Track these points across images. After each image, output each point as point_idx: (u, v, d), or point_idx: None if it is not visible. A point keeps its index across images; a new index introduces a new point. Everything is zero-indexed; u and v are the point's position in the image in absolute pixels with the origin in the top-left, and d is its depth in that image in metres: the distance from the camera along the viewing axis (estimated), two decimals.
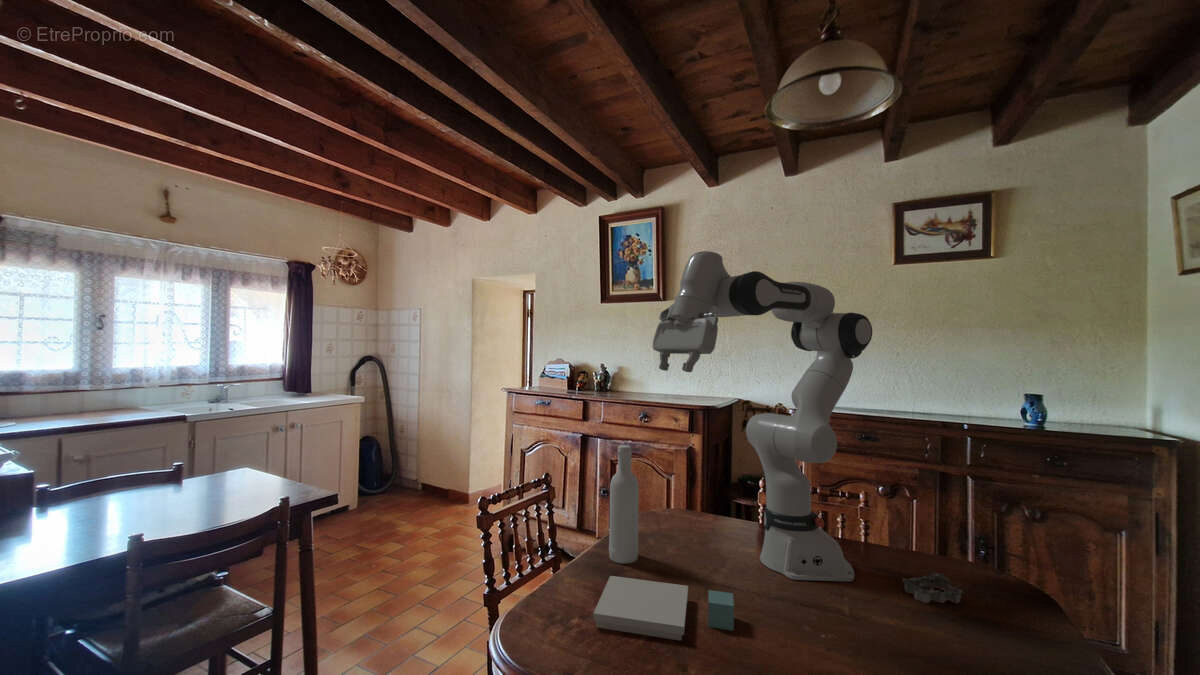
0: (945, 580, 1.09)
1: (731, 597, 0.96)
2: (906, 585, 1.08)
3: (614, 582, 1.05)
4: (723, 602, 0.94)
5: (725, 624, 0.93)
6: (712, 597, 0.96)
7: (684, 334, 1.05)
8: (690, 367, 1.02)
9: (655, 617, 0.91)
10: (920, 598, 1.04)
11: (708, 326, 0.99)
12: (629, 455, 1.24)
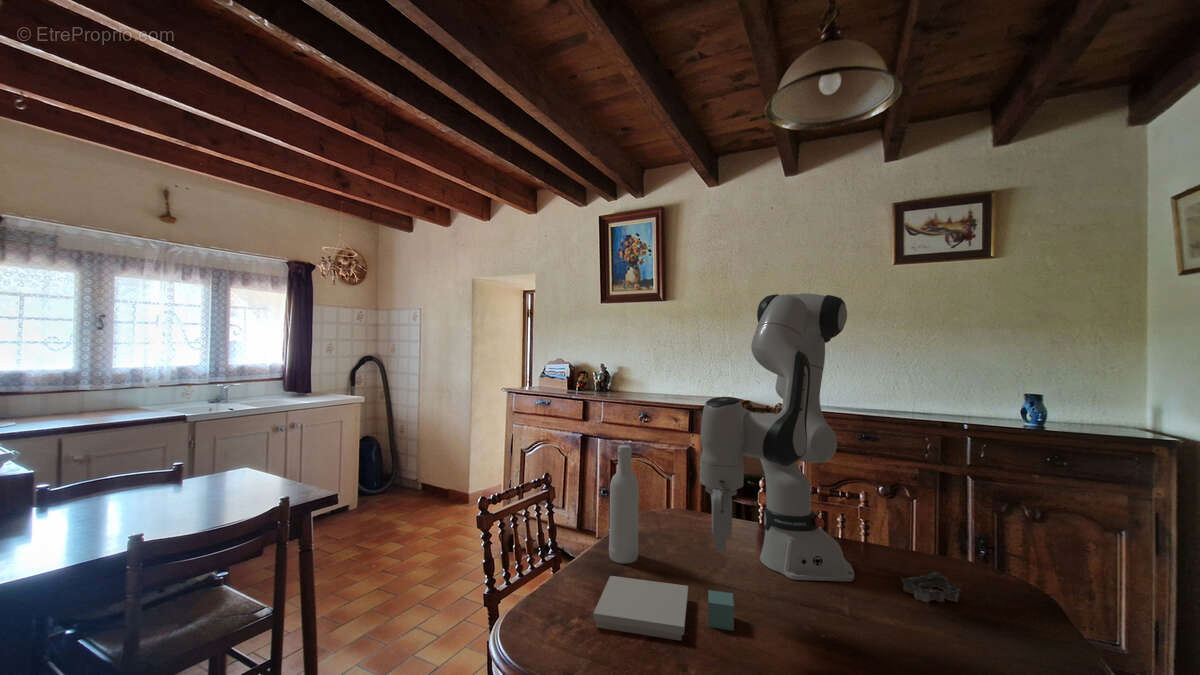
0: (943, 579, 1.10)
1: (731, 597, 0.96)
2: (905, 585, 1.08)
3: (614, 582, 1.05)
4: (723, 602, 0.94)
5: (725, 624, 0.93)
6: (712, 597, 0.96)
7: None
8: (721, 548, 0.90)
9: (655, 617, 0.91)
10: (920, 598, 1.05)
11: (715, 507, 0.87)
12: (629, 455, 1.24)
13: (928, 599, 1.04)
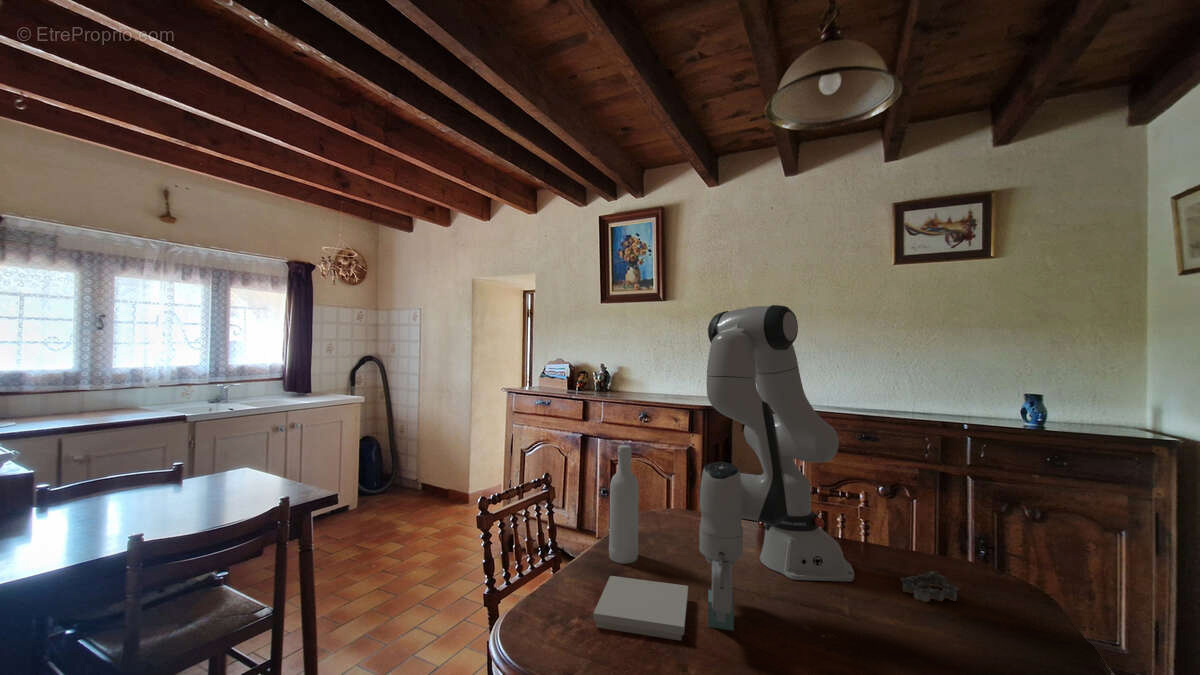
0: (940, 577, 1.10)
1: None
2: (905, 585, 1.08)
3: (614, 582, 1.05)
4: None
5: (725, 623, 0.93)
6: None
7: None
8: (722, 616, 0.92)
9: (655, 617, 0.91)
10: (920, 597, 1.05)
11: (715, 583, 0.87)
12: (629, 455, 1.24)
13: (928, 599, 1.04)
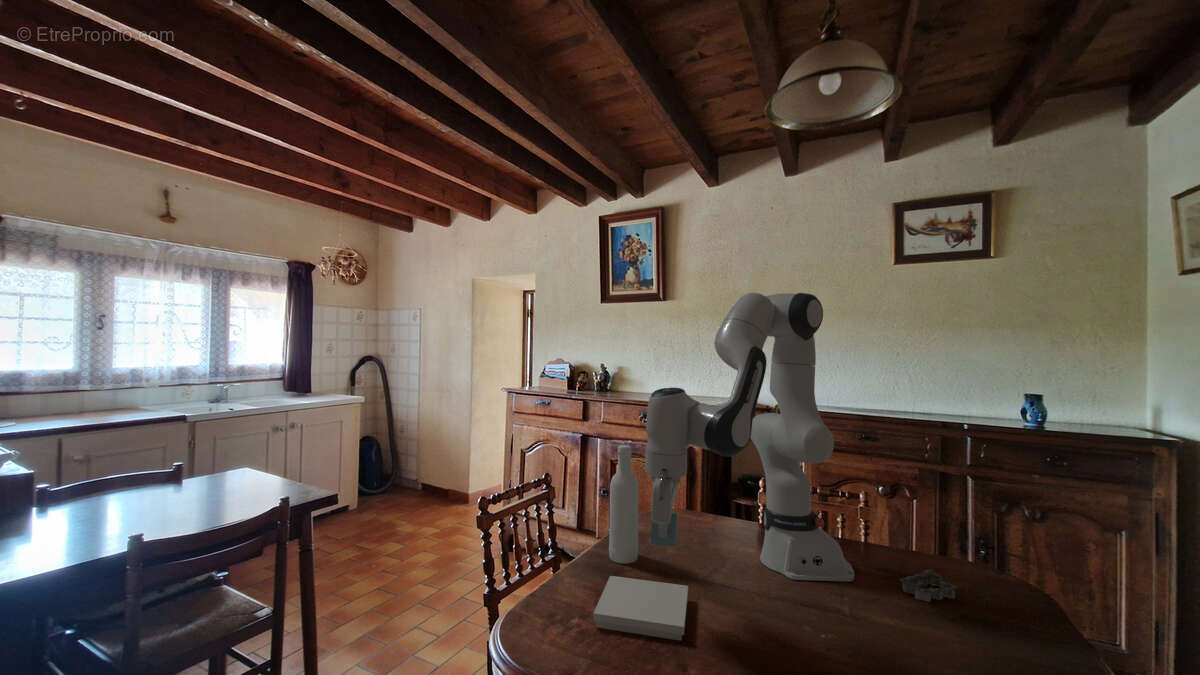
0: (936, 576, 1.11)
1: (675, 516, 0.98)
2: (905, 585, 1.08)
3: (614, 582, 1.05)
4: None
5: (667, 540, 0.95)
6: None
7: None
8: (663, 532, 0.94)
9: (655, 617, 0.91)
10: (922, 598, 1.05)
11: (655, 494, 0.89)
12: (629, 455, 1.24)
13: (930, 598, 1.04)
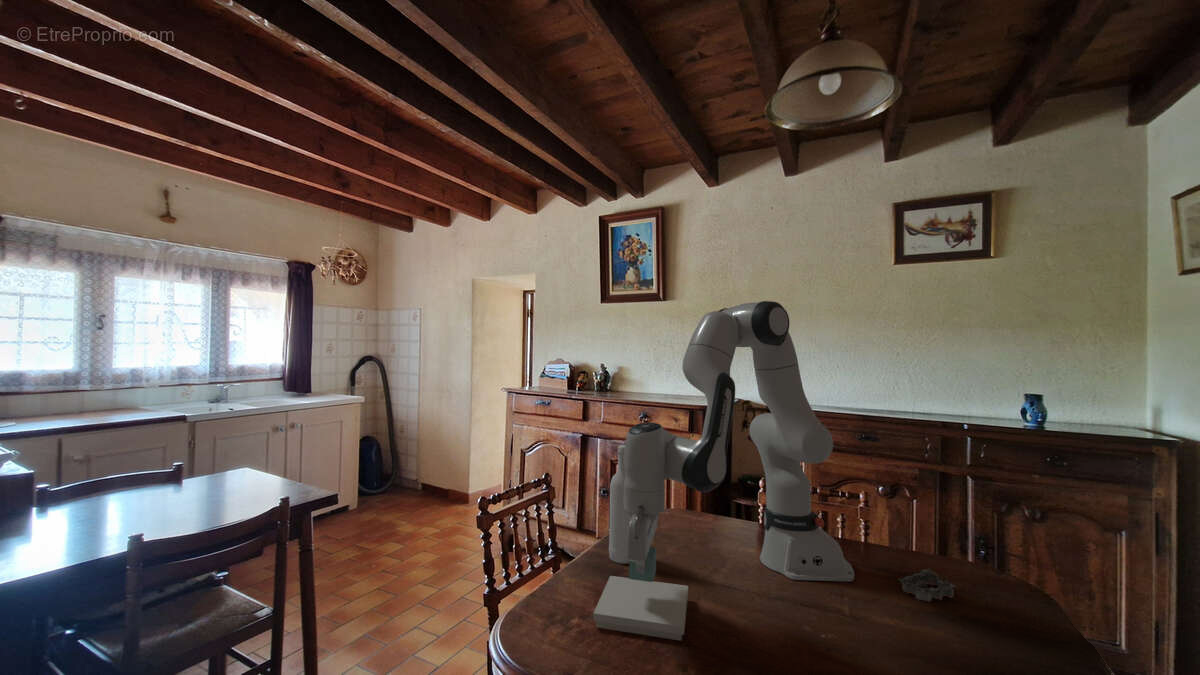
0: (933, 575, 1.11)
1: (653, 551, 0.99)
2: (905, 585, 1.08)
3: (614, 582, 1.05)
4: None
5: (645, 575, 0.96)
6: None
7: None
8: (641, 568, 0.95)
9: (655, 617, 0.91)
10: (922, 598, 1.05)
11: (630, 533, 0.90)
12: None
13: (930, 598, 1.04)
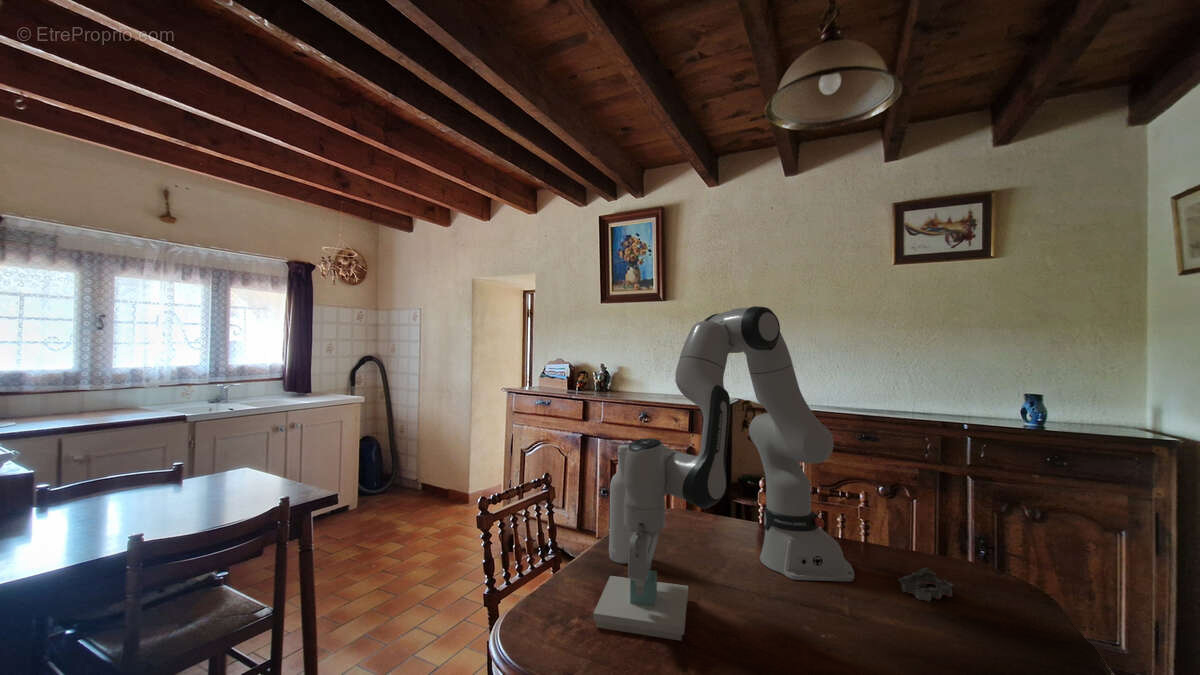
0: (931, 574, 1.12)
1: (654, 574, 0.99)
2: (904, 585, 1.08)
3: (614, 582, 1.05)
4: None
5: (646, 600, 0.96)
6: None
7: None
8: (640, 589, 0.93)
9: (655, 617, 0.91)
10: (922, 597, 1.05)
11: (631, 552, 0.90)
12: None
13: (930, 598, 1.04)
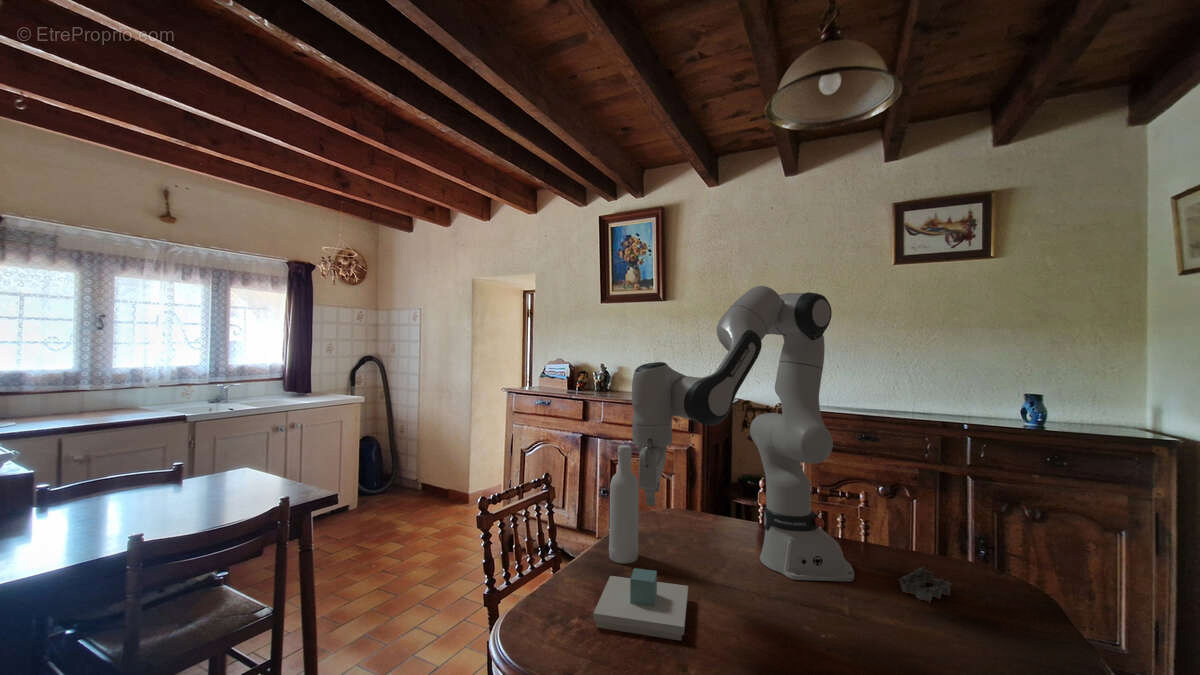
0: (928, 573, 1.12)
1: (654, 574, 0.99)
2: (904, 586, 1.08)
3: (614, 582, 1.05)
4: (644, 579, 0.97)
5: (646, 600, 0.96)
6: (635, 574, 0.99)
7: None
8: (651, 501, 0.97)
9: (655, 617, 0.91)
10: (923, 597, 1.05)
11: (641, 462, 0.94)
12: (629, 455, 1.24)
13: (931, 598, 1.04)
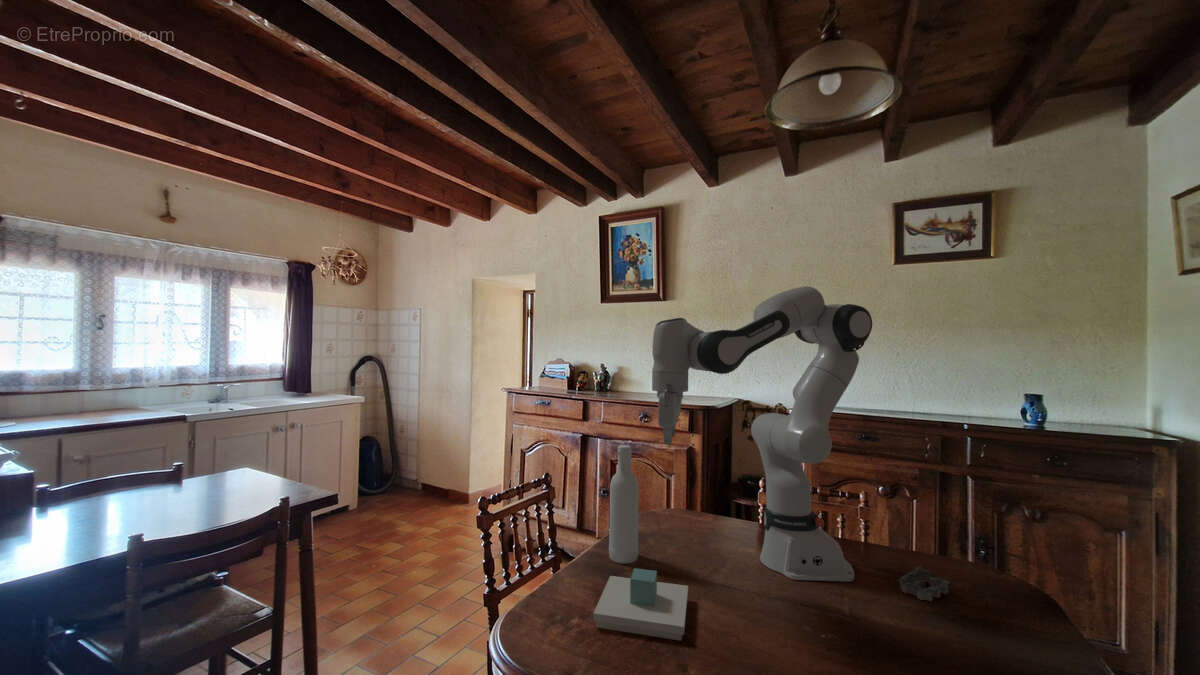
0: (924, 572, 1.13)
1: (654, 574, 0.99)
2: (905, 586, 1.08)
3: (614, 582, 1.05)
4: (644, 579, 0.97)
5: (646, 600, 0.96)
6: (635, 574, 0.99)
7: None
8: (668, 440, 1.08)
9: (655, 617, 0.91)
10: (924, 597, 1.05)
11: (660, 402, 1.04)
12: (629, 455, 1.24)
13: (931, 597, 1.04)
